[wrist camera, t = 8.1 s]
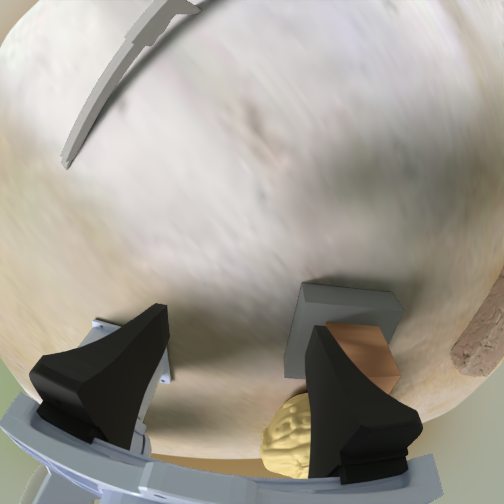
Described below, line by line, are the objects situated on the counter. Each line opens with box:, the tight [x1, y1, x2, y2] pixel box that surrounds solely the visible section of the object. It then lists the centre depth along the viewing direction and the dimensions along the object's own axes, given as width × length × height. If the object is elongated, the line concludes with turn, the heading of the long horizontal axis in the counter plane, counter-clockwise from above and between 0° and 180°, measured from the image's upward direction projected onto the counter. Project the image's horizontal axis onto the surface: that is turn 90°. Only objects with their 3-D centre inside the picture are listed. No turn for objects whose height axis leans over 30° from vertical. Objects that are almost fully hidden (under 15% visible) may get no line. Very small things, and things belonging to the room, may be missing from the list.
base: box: [284, 283, 404, 379], centre depth 23 cm, size 9×9×3 cm
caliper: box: [60, 0, 214, 170], centre depth 14 cm, size 20×1×6 cm, turn 133°
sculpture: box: [260, 393, 311, 479], centre depth 25 cm, size 12×12×11 cm
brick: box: [451, 267, 504, 377], centre depth 21 cm, size 17×8×5 cm, turn 160°
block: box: [324, 322, 401, 394], centre depth 19 cm, size 5×5×6 cm
